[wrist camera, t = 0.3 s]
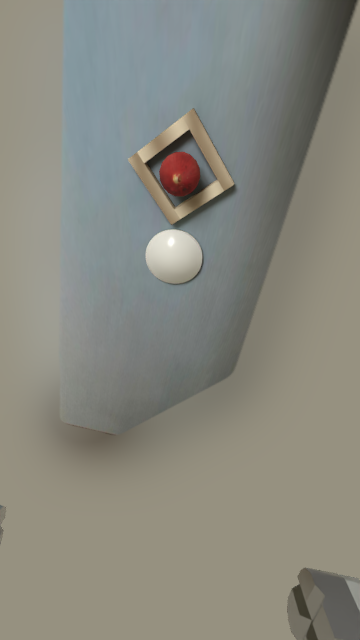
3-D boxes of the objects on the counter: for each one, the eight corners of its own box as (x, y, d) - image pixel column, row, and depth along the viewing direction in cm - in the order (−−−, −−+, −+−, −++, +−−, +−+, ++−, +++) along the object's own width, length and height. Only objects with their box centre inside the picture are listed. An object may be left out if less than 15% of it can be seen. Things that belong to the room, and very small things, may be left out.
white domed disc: (182, 217, 54) (181, 218, 54) (213, 265, 58) (213, 267, 58) (135, 248, 58) (134, 249, 58) (167, 291, 62) (166, 292, 62)
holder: (193, 108, 46) (193, 108, 44) (233, 182, 50) (234, 184, 49) (130, 158, 50) (127, 159, 49) (172, 222, 55) (171, 224, 54)
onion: (207, 180, 51) (205, 192, 44) (173, 196, 53) (167, 210, 46) (191, 141, 48) (187, 148, 41) (157, 159, 50) (147, 168, 43)
